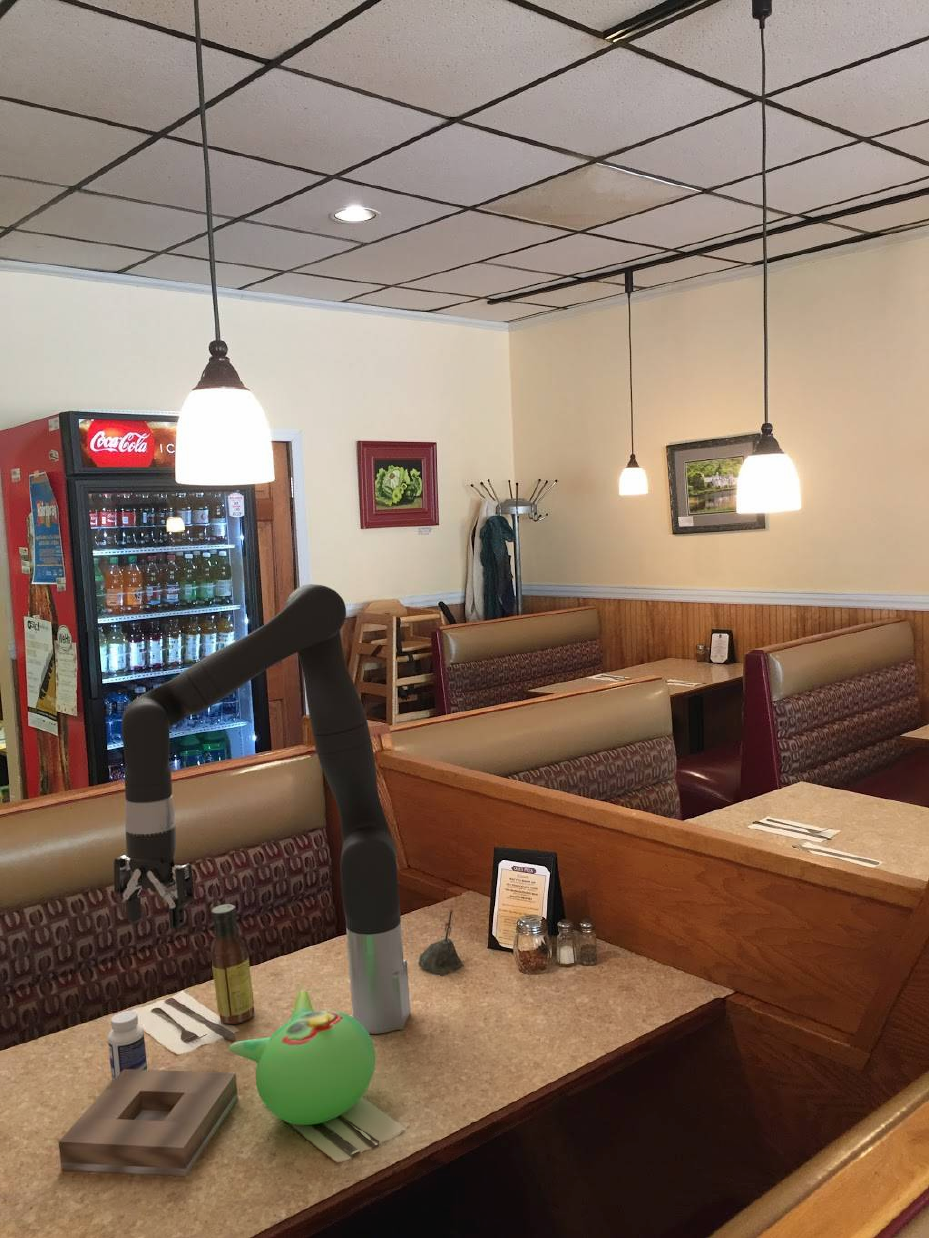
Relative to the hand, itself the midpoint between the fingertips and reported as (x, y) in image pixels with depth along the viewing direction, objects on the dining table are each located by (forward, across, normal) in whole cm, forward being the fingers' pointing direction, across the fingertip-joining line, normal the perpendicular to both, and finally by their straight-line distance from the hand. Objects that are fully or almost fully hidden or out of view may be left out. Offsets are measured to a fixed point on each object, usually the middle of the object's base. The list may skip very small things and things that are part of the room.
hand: (155, 924), depth 162 cm
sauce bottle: (+23, -2, -16) cm, 28 cm away
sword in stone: (+21, -27, -46) cm, 58 cm away
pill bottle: (+24, +2, +5) cm, 24 cm away
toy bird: (+22, -31, +2) cm, 38 cm away
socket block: (+23, -12, +15) cm, 30 cm away
